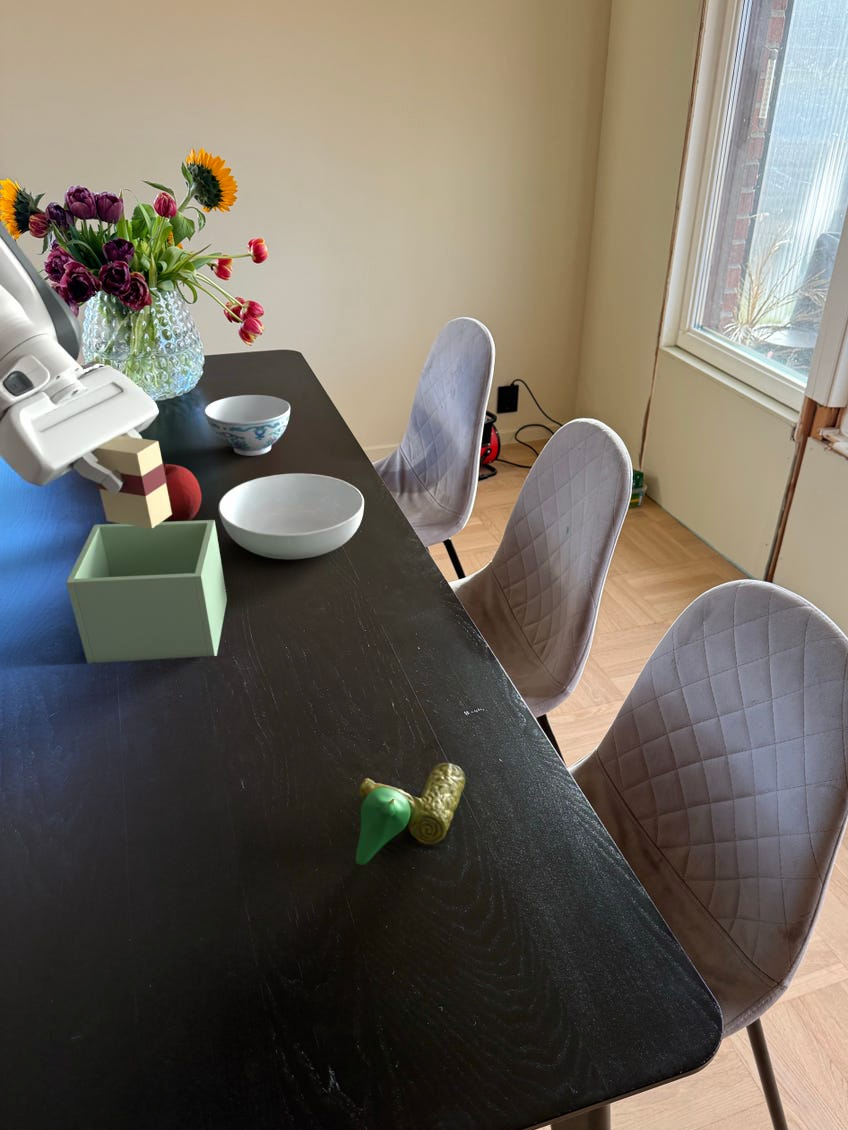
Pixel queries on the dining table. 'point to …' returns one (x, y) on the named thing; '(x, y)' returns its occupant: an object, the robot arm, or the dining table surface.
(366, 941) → the dining table surface
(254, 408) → the chinaware
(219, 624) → the trash bin
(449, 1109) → the dining table surface
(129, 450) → the chocolate box
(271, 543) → the serving bowl
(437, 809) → the bird figurine
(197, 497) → the apple
